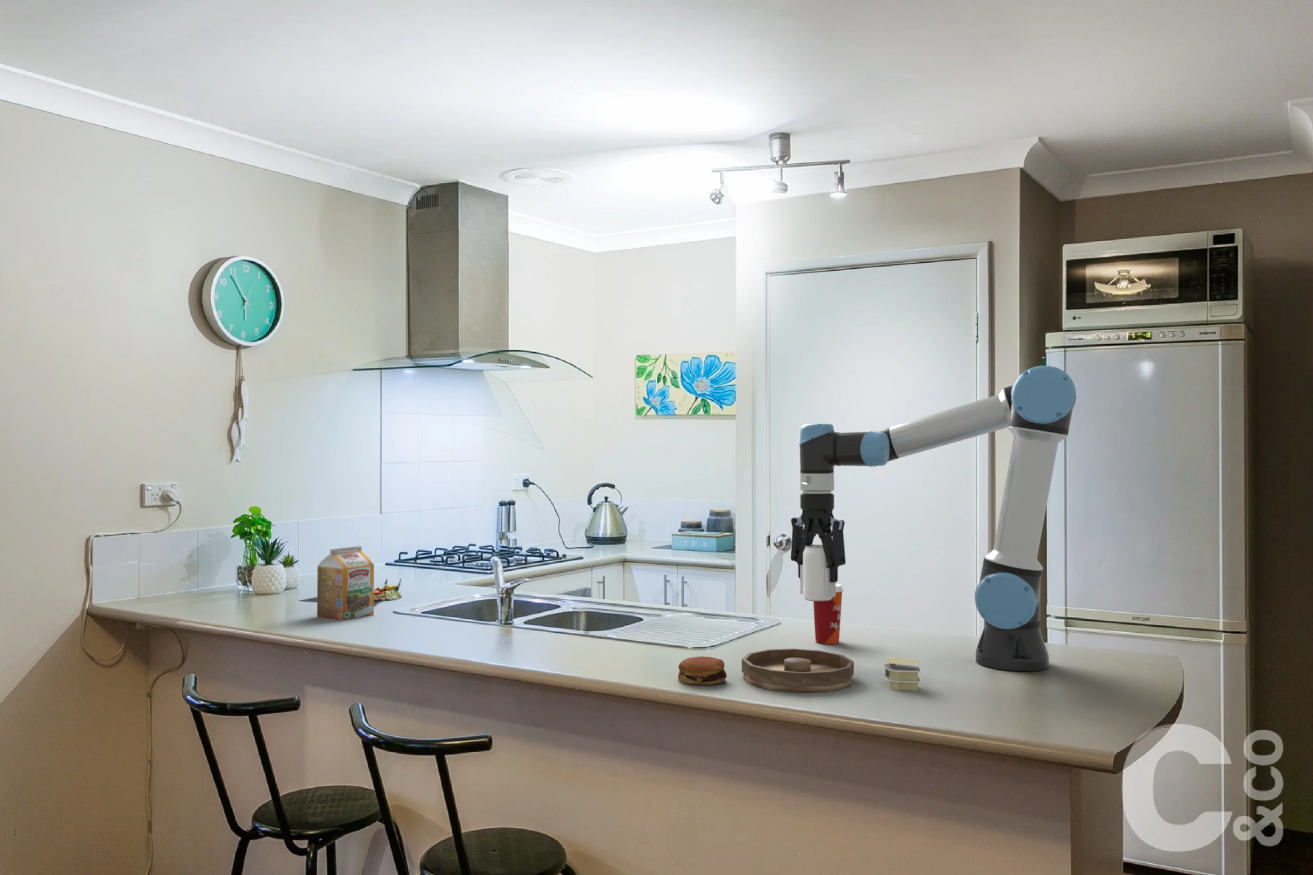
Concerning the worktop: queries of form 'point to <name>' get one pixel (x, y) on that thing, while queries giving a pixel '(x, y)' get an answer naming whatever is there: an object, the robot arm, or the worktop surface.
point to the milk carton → (345, 585)
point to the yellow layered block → (902, 673)
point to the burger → (701, 671)
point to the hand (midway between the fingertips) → (817, 594)
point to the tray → (798, 670)
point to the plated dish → (378, 594)
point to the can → (814, 573)
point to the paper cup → (828, 618)
